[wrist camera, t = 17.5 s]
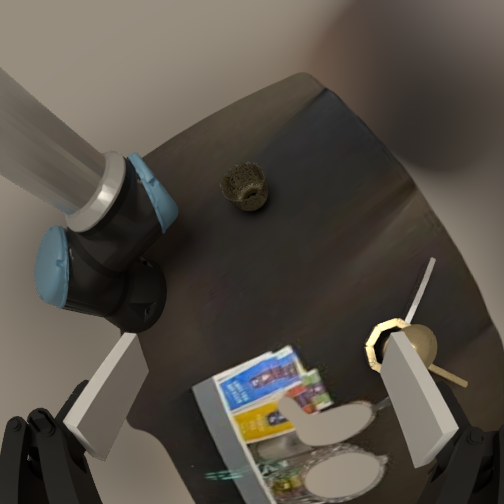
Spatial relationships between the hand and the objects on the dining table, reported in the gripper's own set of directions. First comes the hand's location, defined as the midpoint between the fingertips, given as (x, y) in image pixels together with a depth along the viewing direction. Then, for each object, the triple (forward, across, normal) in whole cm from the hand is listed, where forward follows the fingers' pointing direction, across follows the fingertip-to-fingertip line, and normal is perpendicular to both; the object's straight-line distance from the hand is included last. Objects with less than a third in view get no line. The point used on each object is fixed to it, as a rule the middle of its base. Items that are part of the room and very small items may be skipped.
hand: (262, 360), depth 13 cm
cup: (+40, -2, +1) cm, 40 cm away
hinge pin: (+19, +18, -16) cm, 31 cm away
